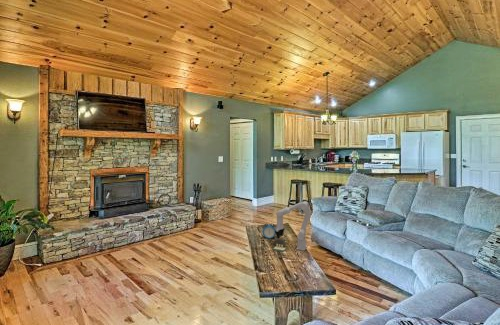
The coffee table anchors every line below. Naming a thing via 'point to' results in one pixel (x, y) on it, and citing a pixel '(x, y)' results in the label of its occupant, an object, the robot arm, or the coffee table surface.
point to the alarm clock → (269, 230)
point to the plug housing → (279, 242)
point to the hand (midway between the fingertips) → (279, 237)
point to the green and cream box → (279, 248)
